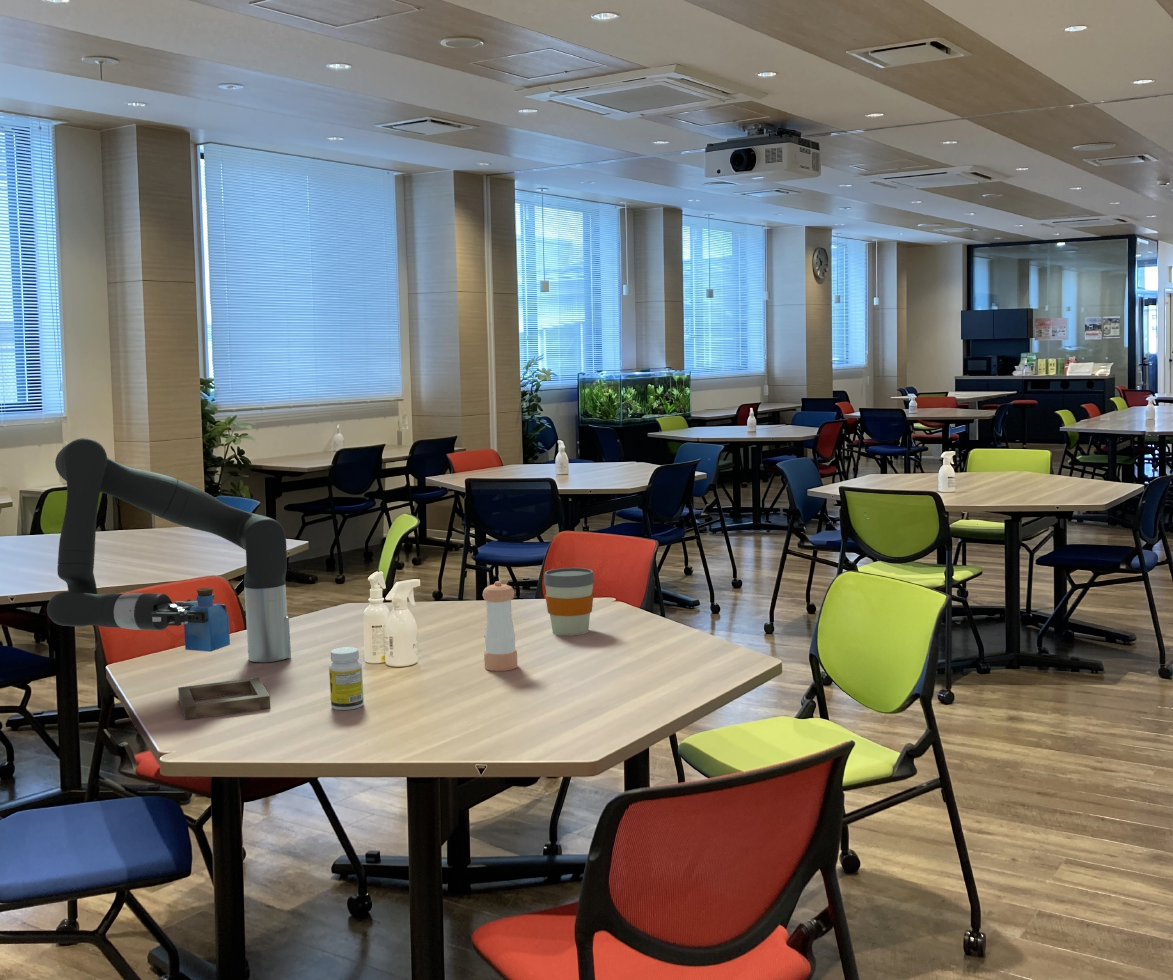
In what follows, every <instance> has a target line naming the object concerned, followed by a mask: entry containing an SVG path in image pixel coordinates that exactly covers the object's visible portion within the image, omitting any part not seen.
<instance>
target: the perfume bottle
mask: <svg viewBox="0 0 1173 980" xmlns="http://www.w3.org/2000/svg"><path fill="white" fill-rule="evenodd" d="M213 591H214V588H212V587H201V588H198V589H196V592H197V595H196V596H195V597H196V598H195V600H197V601H198V605H196V606H192V607H191V608H190V610H189V611H188V613H189V612H190V611H203V612H207V618H208V621H207V622H206V623H187V624H183V628H184V629H183V630H184V632H183V633H184V648H185V650H186V651H198V652H214V651H217V650H219V649H223V648H225V647H228V646H230V645H231V641H230V640H231V639H230V619H229V618H230V616H229V613H228V612H226V611H227V610H226V611H225V610H224V609H223V607H222V606H221V605H220V604H221V603H214V600H215V594H214V593H213Z"/></svg>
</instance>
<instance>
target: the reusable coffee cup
mask: <svg viewBox="0 0 1173 980" xmlns="http://www.w3.org/2000/svg"><path fill="white" fill-rule="evenodd" d="M543 575H544V578H543V585H544V586H545V591H546V592H545V593H546V594H545V595H544V597H545V602H546V607H547V608H546V609H547V613H548V615H549V616H550V617H549V618H550V624H551V629H552V631H551V632H552V633H553V634H555V635H559V636H580V635H583V634H587V633H588V632H589V628H590V617H591V613H592V611H593V603H594V592H593V587H594V584H595V578H594V571H593V570H592V569H590V568H582V567H562V568H561V567H560V568H556V569H549V570H547V571H545V572H544V574H543Z"/></svg>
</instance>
